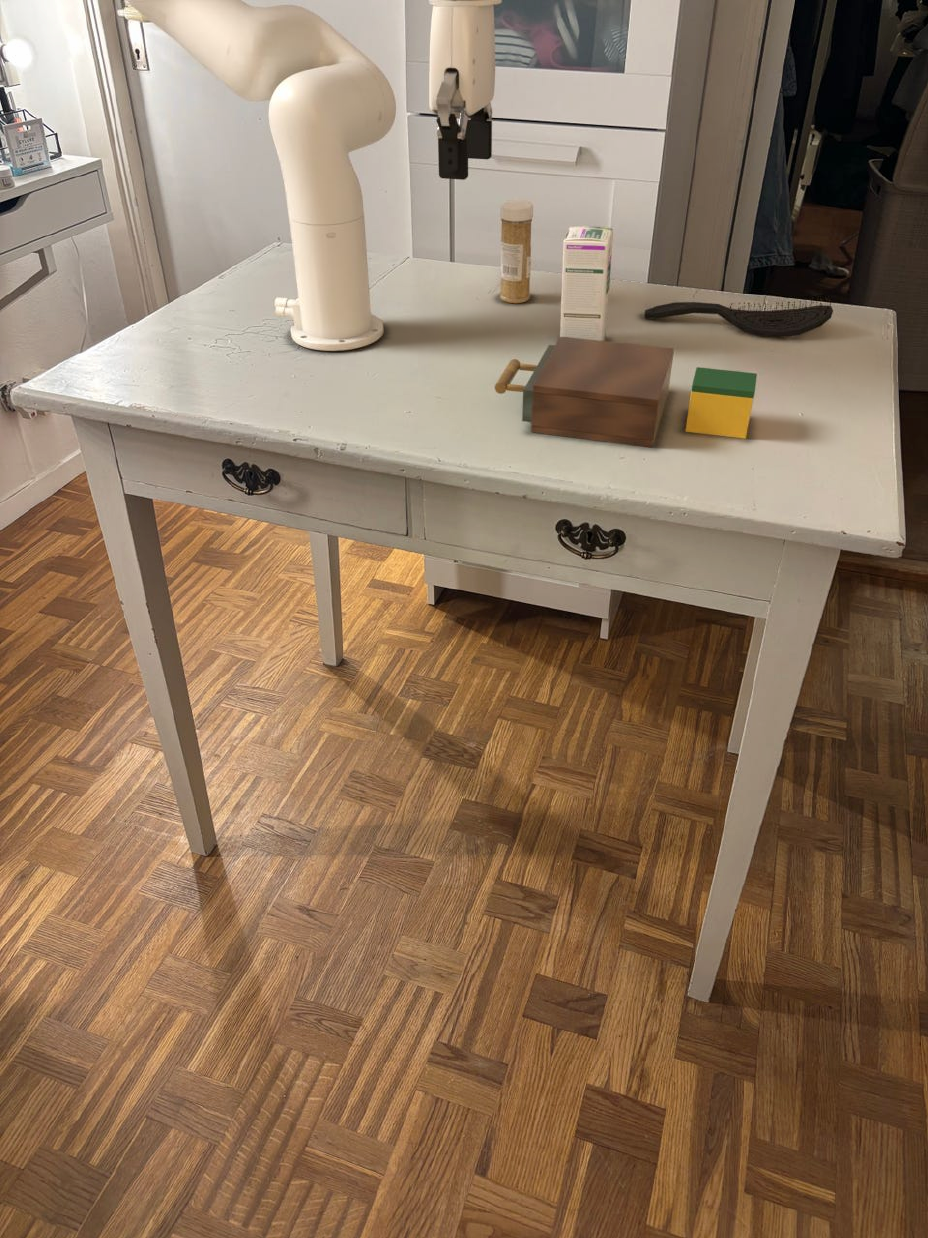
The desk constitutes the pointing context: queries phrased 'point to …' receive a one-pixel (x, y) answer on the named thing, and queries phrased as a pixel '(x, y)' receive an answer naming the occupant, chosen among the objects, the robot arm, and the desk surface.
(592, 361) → the drawer unit
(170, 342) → the desk surface
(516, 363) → the drawer
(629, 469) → the desk surface
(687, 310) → the hairbrush
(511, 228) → the sprinkles bottle
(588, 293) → the syrup box
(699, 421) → the sponge
